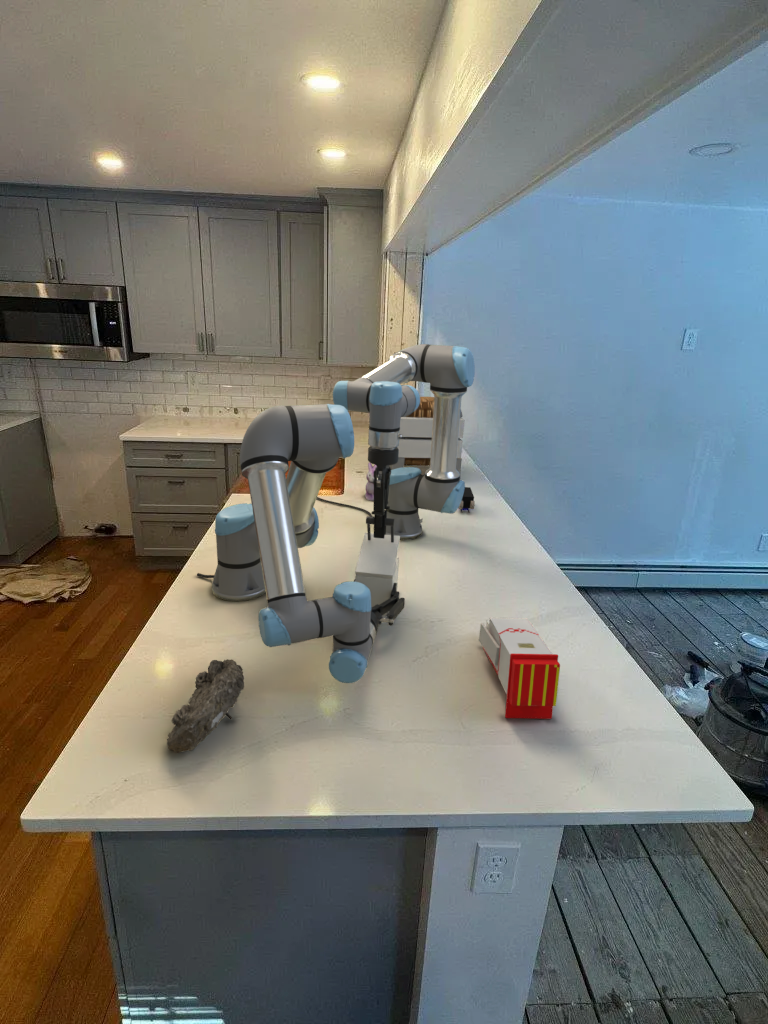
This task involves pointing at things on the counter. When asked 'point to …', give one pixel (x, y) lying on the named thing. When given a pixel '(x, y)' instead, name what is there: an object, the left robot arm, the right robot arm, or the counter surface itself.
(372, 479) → the figurine
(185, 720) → the fossil
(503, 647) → the toy
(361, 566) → the lid
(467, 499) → the figurine character
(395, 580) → the chest
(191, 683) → the counter surface
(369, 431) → the right robot arm
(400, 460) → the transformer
